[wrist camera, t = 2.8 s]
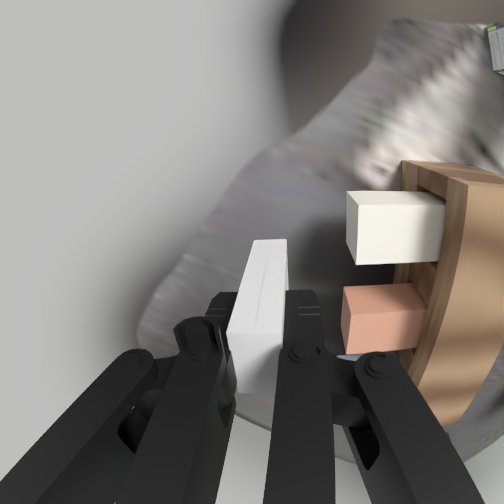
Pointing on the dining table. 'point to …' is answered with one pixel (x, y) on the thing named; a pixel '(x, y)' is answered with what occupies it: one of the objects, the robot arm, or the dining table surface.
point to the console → (457, 287)
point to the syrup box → (497, 45)
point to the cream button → (394, 226)
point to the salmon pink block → (382, 317)
